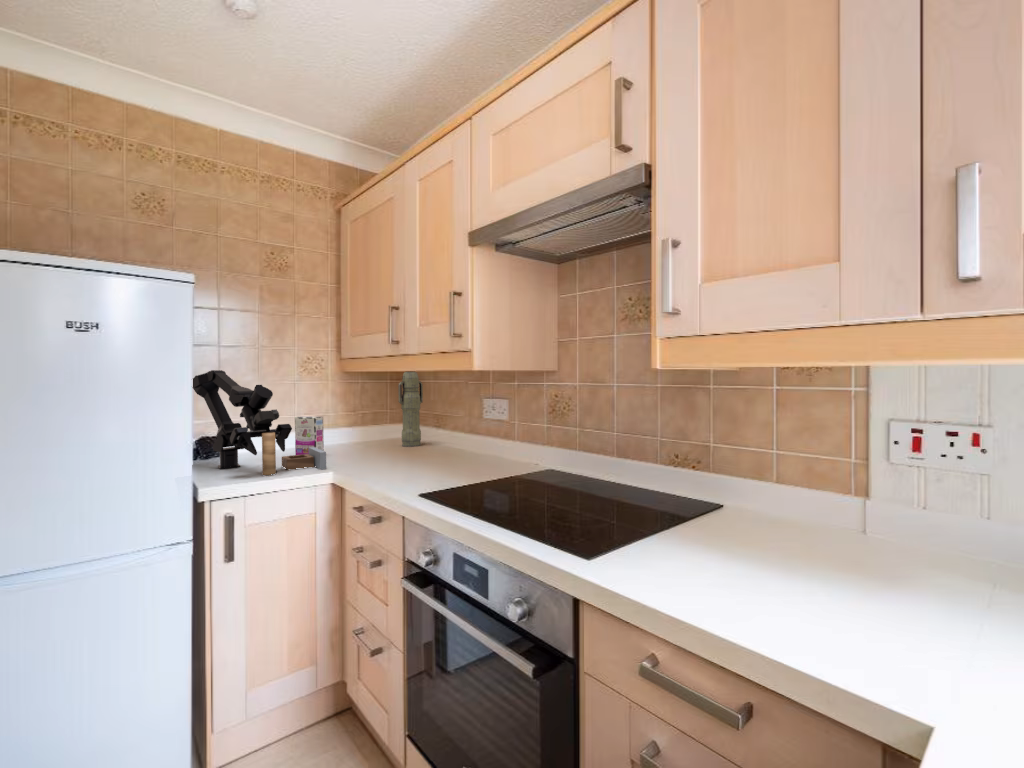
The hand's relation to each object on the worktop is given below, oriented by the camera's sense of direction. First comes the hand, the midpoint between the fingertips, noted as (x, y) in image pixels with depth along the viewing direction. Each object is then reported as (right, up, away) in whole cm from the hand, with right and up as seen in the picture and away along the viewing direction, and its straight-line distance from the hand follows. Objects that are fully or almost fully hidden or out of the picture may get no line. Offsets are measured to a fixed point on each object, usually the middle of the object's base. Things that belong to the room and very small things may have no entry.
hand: (270, 452), depth 162 cm
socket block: (+3, -8, +14) cm, 17 cm away
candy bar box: (-3, -7, +40) cm, 41 cm away
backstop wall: (+9, -7, +16) cm, 20 cm away
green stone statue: (+33, -6, +68) cm, 76 cm away
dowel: (-1, -7, +1) cm, 8 cm away
